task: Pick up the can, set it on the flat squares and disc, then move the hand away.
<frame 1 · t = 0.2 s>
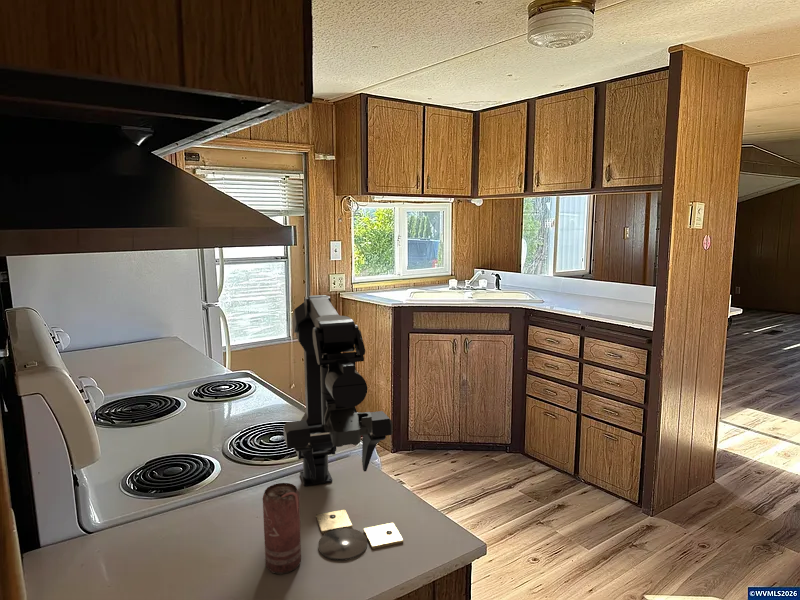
hand: (339, 474, 99), 15 cm above the table, tool pointing down, fingers open, 9 cm apart
can: (284, 565, 97), on the table
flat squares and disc: (343, 545, 102), on the table
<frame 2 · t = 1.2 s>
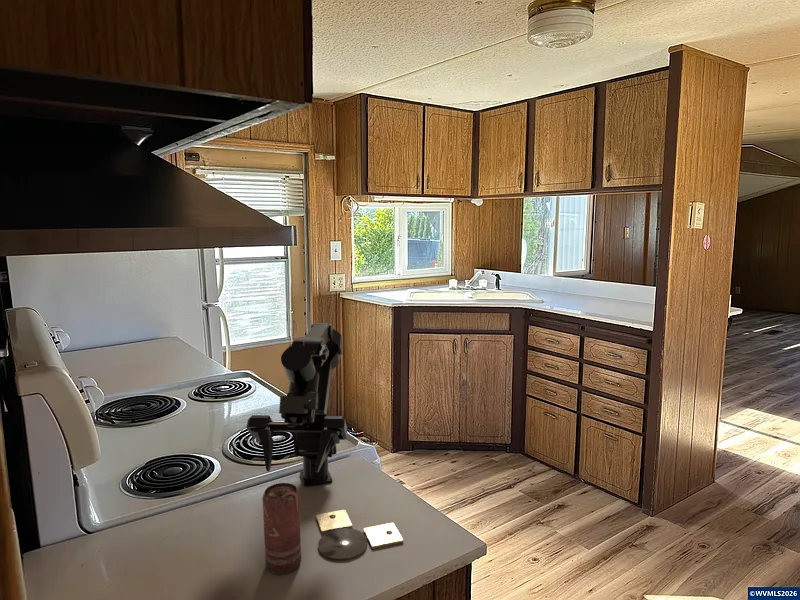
hand: (292, 471, 102), 13 cm above the table, tool tilted 45°, fingers open, 9 cm apart
nothing on the table moved.
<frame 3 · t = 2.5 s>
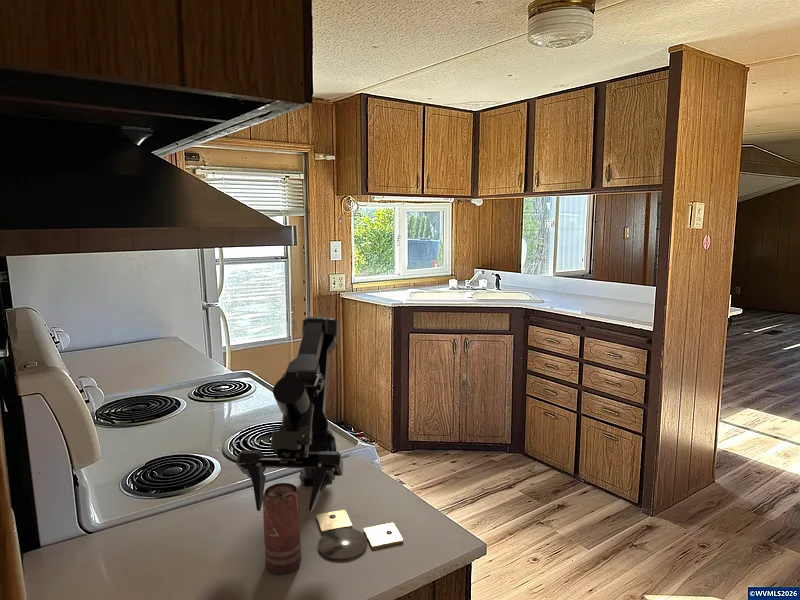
hand: (284, 511, 97), 9 cm above the table, tool tilted 45°, fingers open, 9 cm apart
nothing on the table moved.
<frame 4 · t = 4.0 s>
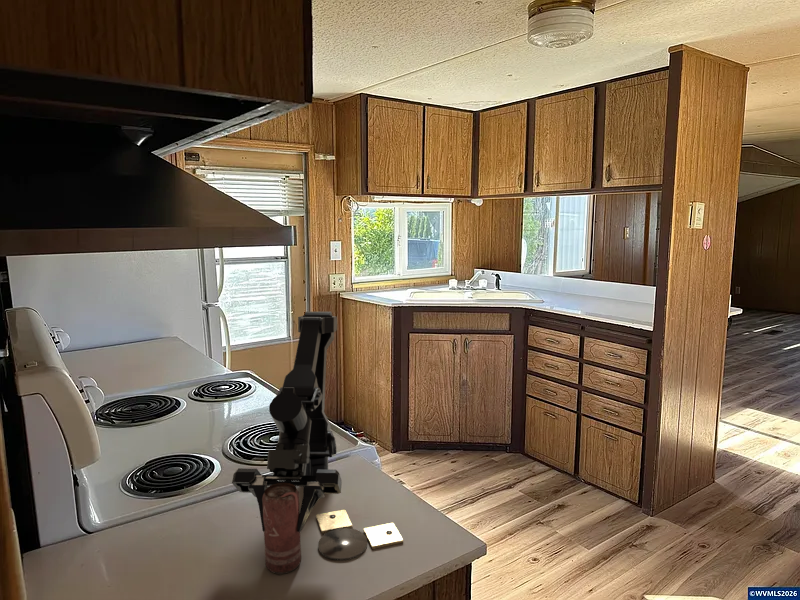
hand: (281, 531, 94), 7 cm above the table, tool tilted 45°, fingers closed on can, 6 cm apart
can: (284, 565, 97), on the table, touching gripper
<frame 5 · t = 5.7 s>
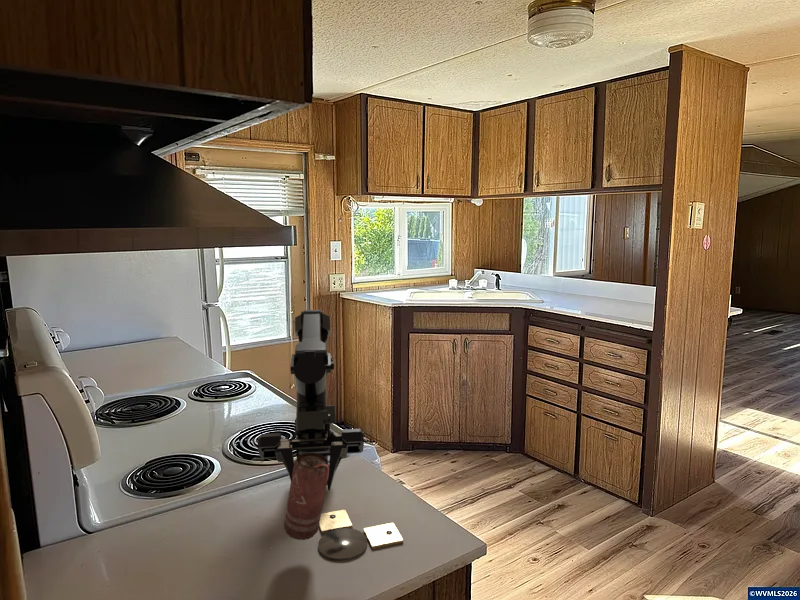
hand: (312, 491, 96), 13 cm above the table, tool tilted 45°, fingers closed on can, 5 cm apart
can: (301, 530, 99), point 5 cm above the table, touching gripper
when the fingers open (9 cm above the table, at t = 7.8 s): can stays where it is, resting on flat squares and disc.
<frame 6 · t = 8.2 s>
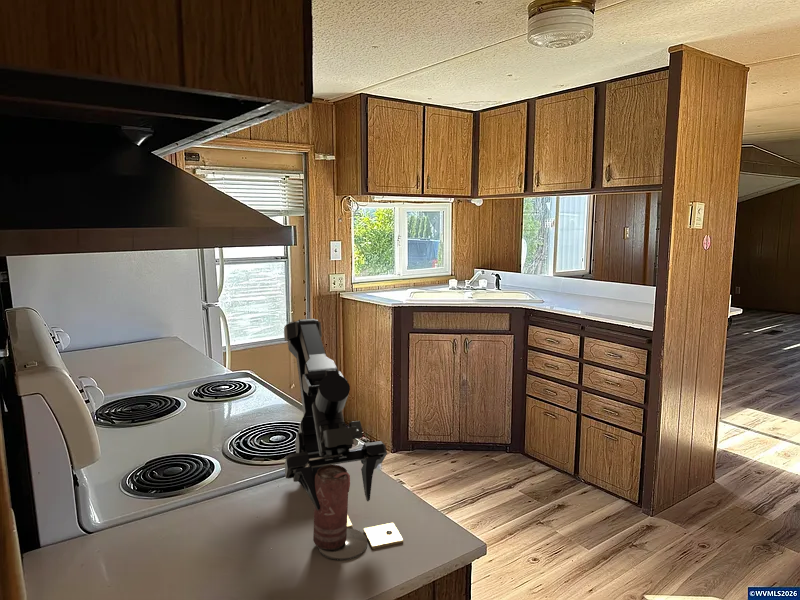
hand: (343, 505, 99), 9 cm above the table, tool tilted 45°, fingers open, 9 cm apart
can: (330, 542, 102), point 1 cm above the table, touching gripper, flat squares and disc
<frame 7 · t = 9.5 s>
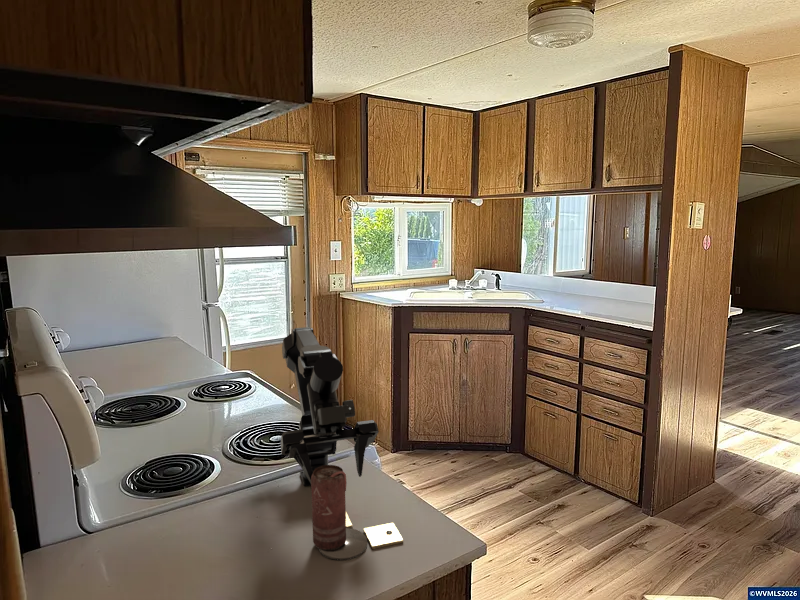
hand: (336, 480, 104), 11 cm above the table, tool tilted 45°, fingers open, 9 cm apart
can: (330, 542, 102), resting on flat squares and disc
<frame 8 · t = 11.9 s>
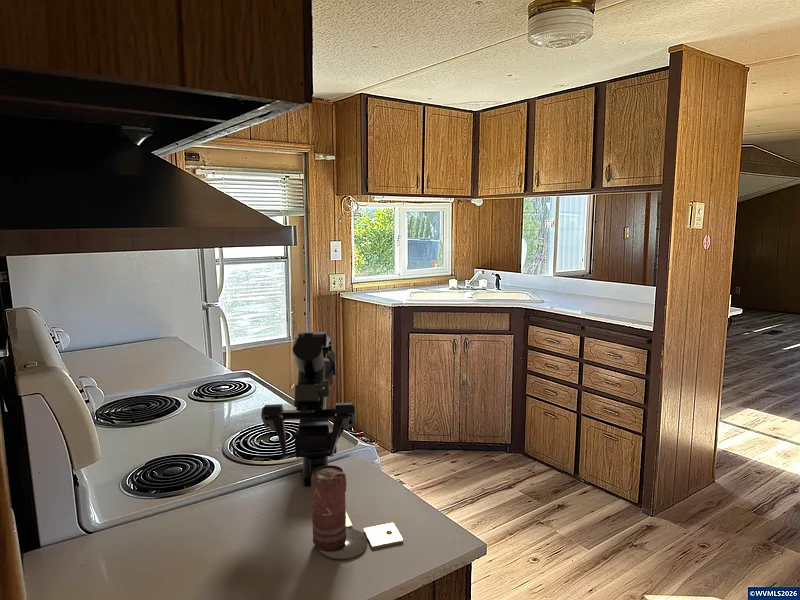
hand: (307, 455, 108), 14 cm above the table, tool tilted 45°, fingers open, 9 cm apart
nothing on the table moved.
at the end: can 2.3 cm off-centre on the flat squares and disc, point 0.4 cm above the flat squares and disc's base; can tilted 0°; the gripper is holding nothing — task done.
